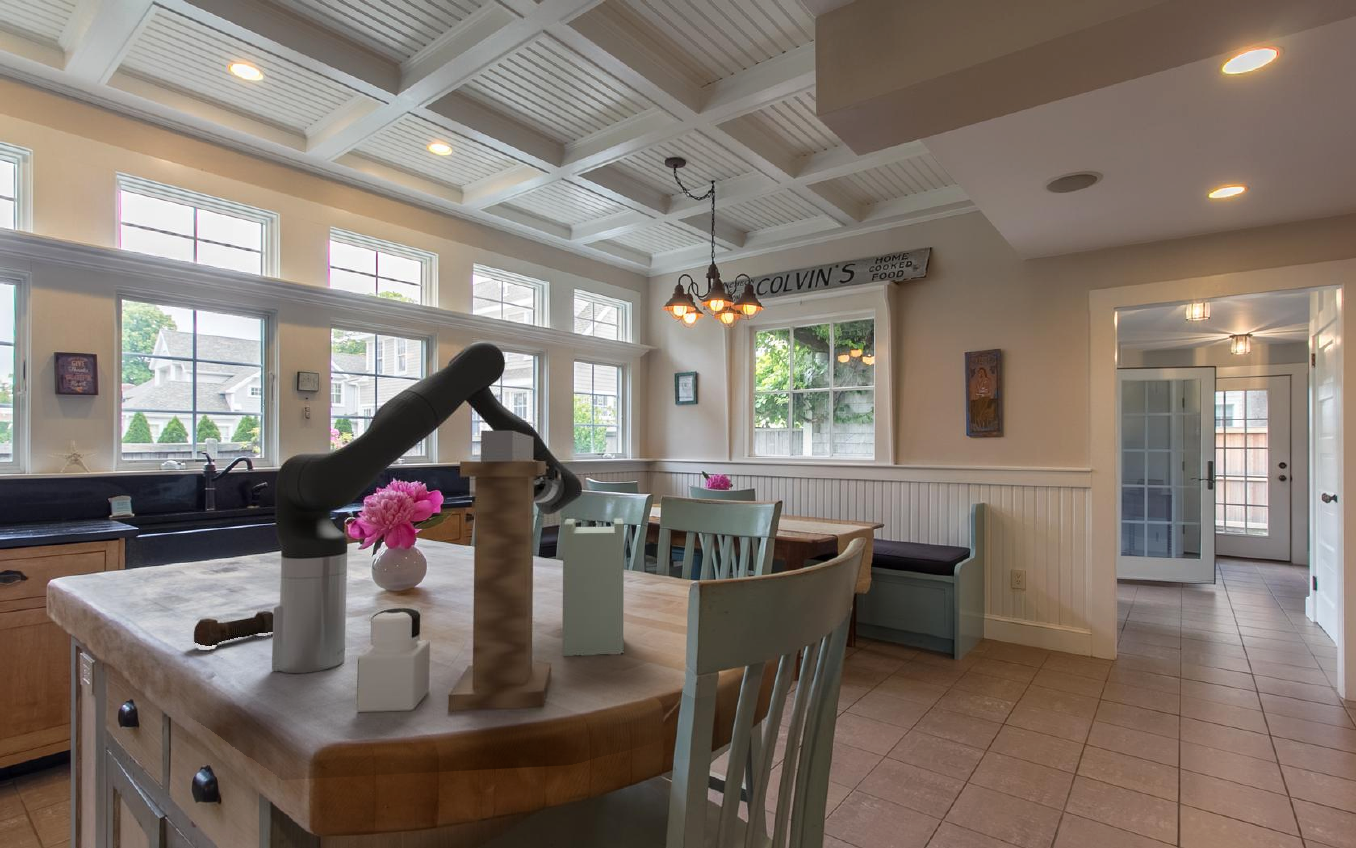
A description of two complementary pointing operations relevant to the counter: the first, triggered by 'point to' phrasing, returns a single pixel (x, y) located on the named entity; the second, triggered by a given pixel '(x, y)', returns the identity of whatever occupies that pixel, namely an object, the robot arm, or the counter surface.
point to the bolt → (232, 628)
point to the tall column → (502, 591)
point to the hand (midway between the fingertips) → (505, 469)
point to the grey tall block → (593, 589)
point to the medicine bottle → (393, 663)
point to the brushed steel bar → (506, 446)
